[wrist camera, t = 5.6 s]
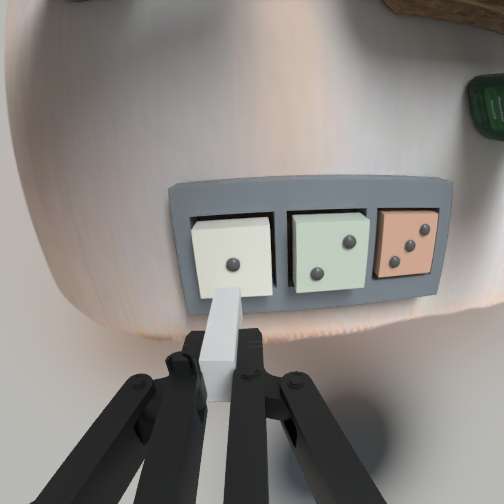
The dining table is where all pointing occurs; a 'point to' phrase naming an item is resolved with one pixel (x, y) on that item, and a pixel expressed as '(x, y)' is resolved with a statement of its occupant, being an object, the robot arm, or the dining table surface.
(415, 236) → the button three
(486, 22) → the bread
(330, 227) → the button two
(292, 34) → the dining table surface
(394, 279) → the console
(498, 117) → the coffee jar
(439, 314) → the dining table surface
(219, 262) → the button one
